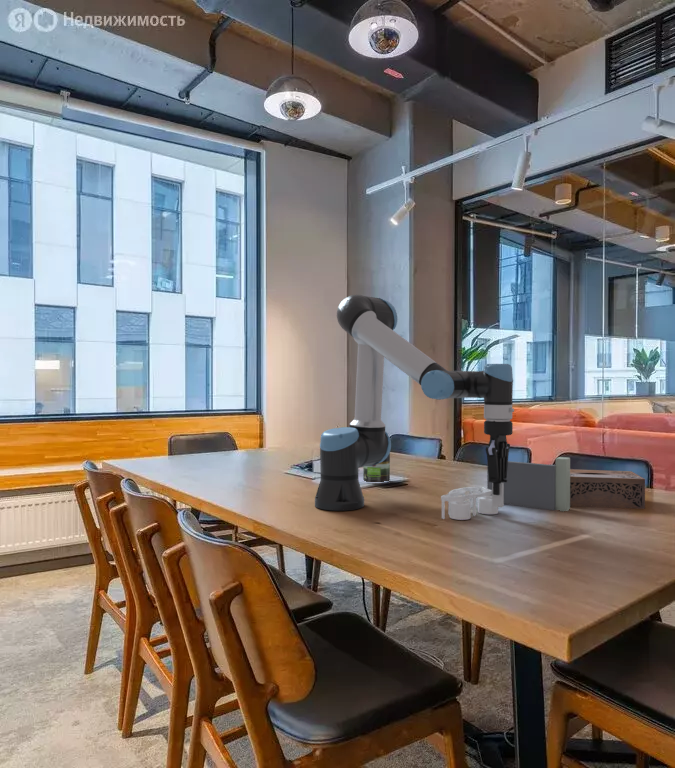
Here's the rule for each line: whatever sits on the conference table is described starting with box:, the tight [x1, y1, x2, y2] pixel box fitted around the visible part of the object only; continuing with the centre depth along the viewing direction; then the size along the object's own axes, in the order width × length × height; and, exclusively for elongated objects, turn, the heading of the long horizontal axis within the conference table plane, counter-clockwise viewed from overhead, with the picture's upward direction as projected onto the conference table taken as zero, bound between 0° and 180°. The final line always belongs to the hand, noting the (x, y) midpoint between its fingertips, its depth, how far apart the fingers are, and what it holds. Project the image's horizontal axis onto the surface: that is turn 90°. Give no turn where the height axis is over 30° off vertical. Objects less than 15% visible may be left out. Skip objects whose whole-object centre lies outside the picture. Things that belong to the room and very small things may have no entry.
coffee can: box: [362, 452, 391, 482], centre depth 218 cm, size 10×10×14 cm
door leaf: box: [486, 456, 571, 512], centre depth 173 cm, size 9×23×16 cm, turn 54°
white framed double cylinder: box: [440, 486, 499, 521], centre depth 163 cm, size 20×11×7 cm, turn 124°
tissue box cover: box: [570, 468, 646, 510], centre depth 179 cm, size 26×14×10 cm, turn 78°
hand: (497, 506), depth 158 cm, fingers closed
